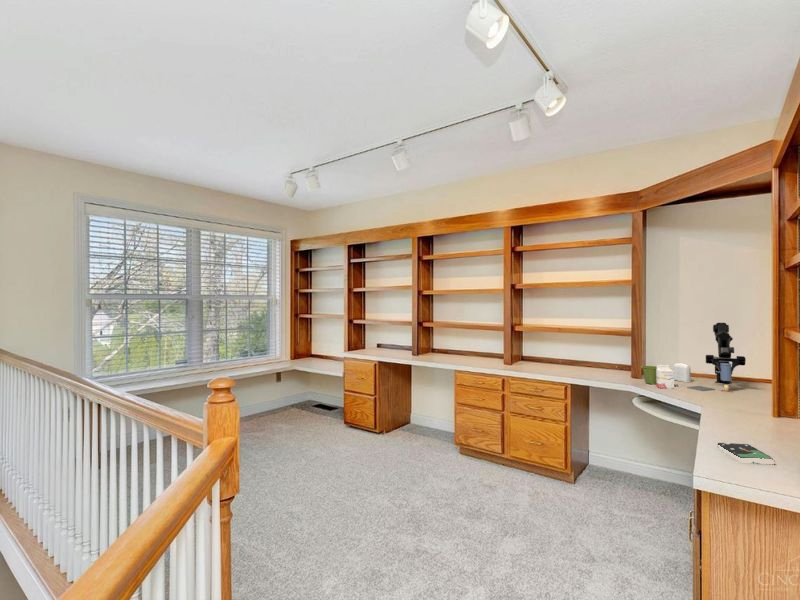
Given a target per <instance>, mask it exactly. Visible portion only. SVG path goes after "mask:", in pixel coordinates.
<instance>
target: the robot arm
mask: <svg viewBox="0 0 800 600" xmlns="http://www.w3.org/2000/svg"><path fill="white" fill-rule="evenodd" d="M729 332H730V326H729V324H727V323H726V322H716V323H715V324H713V325H712V333H714V336H715V342H716V344H717V351H718V354H717V355H718V356H716V355H714V354H706V355H705V363H706V364H712V365H713V366H714V374H715V375H716V381H715V383H716V382H717V383H716V384H722V385H724V384H727V385H730V384H732V382H731V381H723V380H721V375H720V363H731V374H732V375H733V372H734V370H735V368H737V367H739V366H745V365H746V362H747V361H746V357H745V356H744V355H743V356H741V355H737V356H736V358H735V357H734V358H733V357H732V354H735V347H733V346H731V342H732V341H733V337H732V336H731V335H730V333H729Z"/></svg>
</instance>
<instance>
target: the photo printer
mask: <svg viewBox="0 0 800 600" xmlns="http://www.w3.org/2000/svg"><path fill="white" fill-rule="evenodd" d="M673 371H674V381H677V382H683V383H687V382H690V383H691V380H692V379H691V376H692V375H691V371H692V370H691V366H690V365H689V364H685V363H680V362H679V363H677V362H676V363H674V365H673Z"/></svg>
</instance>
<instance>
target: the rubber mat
mask: <svg viewBox="0 0 800 600" xmlns="http://www.w3.org/2000/svg"><path fill="white" fill-rule="evenodd" d="M686 389H690V390H696V391H700V392H707V391H716V388H711V387H708V386H707V387H706V386H702V385H694V386H686Z"/></svg>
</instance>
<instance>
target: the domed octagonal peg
mask: <svg viewBox="0 0 800 600" xmlns="http://www.w3.org/2000/svg"><path fill="white" fill-rule="evenodd" d="M731 367H732V363H731V362H729V363H720V375H721V380H723V381H730V382H731V381H733V379H732V375H733V373H732V374H731Z"/></svg>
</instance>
